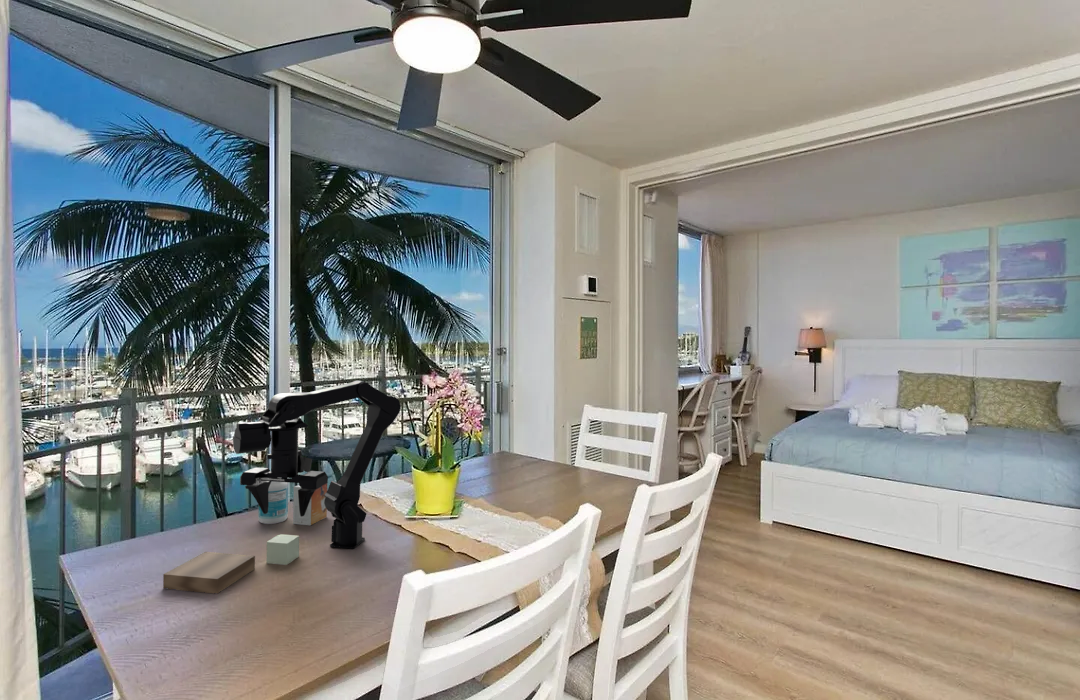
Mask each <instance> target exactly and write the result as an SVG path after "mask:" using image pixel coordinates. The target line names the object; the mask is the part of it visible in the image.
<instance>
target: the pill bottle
mask: <svg viewBox="0 0 1080 700" xmlns="http://www.w3.org/2000/svg"><path fill="white" fill-rule="evenodd" d="M277 478H278V477H277ZM288 483H289V482H274V481H271V484H270V486H269V489H268V501H269V506H268V513H266V514H263V512H262V510H261V508H260V506H259V505H258V508H257V509H258V511H257V513H258V518H257V519H258V521H259V523H261V524H264V525H274V524H279V523H282V522H284V521H286V520H287V519H288V514H289V513H288V511H289V509H288V505H289V502H288V501H289V484H288Z"/></svg>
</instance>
